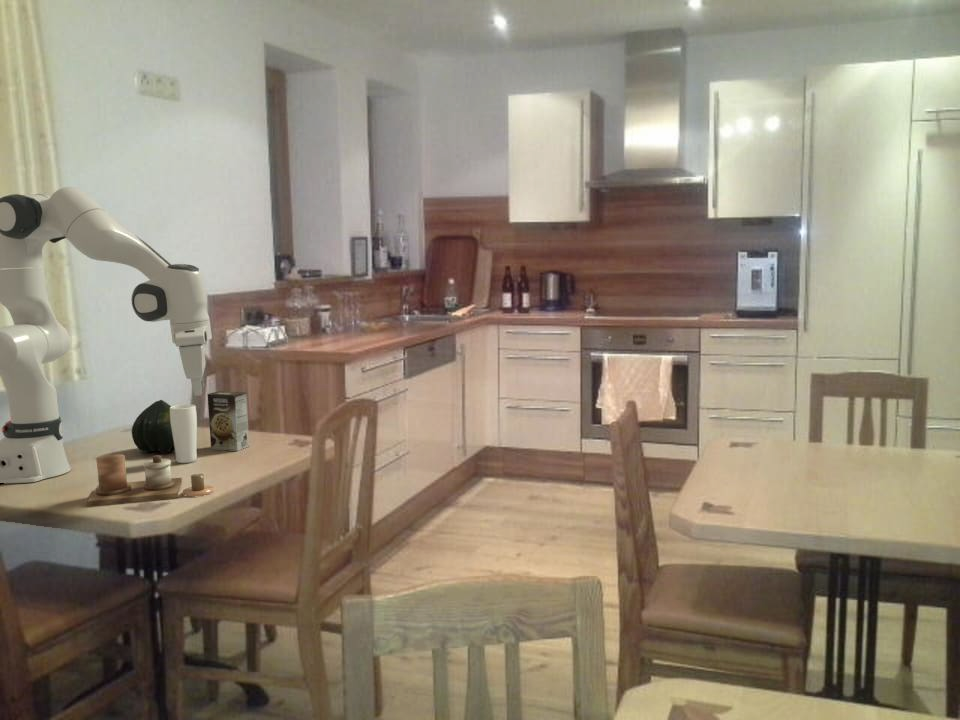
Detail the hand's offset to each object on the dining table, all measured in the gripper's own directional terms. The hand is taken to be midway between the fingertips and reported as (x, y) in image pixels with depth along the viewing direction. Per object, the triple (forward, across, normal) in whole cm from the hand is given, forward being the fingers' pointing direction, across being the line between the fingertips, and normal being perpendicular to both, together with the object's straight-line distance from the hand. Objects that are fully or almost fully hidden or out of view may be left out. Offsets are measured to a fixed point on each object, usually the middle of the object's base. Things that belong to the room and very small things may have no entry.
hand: (199, 391), depth 204 cm
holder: (+22, +1, -17) cm, 28 cm away
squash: (+23, -44, -15) cm, 52 cm away
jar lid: (+23, +5, -3) cm, 24 cm away
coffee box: (+24, -40, +4) cm, 47 cm away
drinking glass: (+23, -28, -7) cm, 37 cm away
